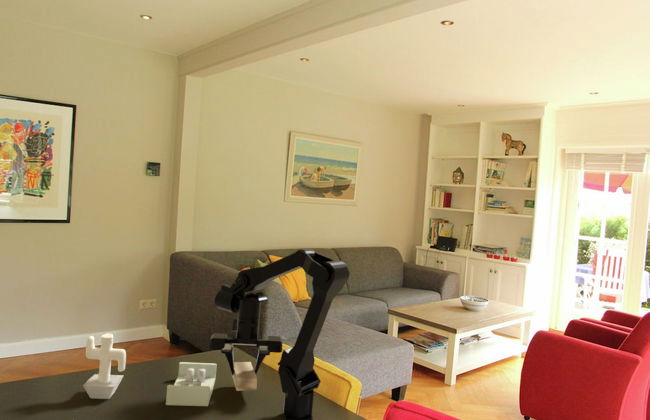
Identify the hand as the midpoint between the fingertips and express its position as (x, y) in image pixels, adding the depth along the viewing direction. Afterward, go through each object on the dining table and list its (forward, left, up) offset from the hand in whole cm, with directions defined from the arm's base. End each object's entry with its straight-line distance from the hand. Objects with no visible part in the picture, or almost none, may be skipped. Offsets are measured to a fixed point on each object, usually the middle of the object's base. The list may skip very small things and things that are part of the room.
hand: (243, 374), depth 126 cm
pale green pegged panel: (+13, 0, -5) cm, 14 cm away
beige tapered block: (0, 0, -2) cm, 2 cm away
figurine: (+34, +4, -5) cm, 34 cm away
